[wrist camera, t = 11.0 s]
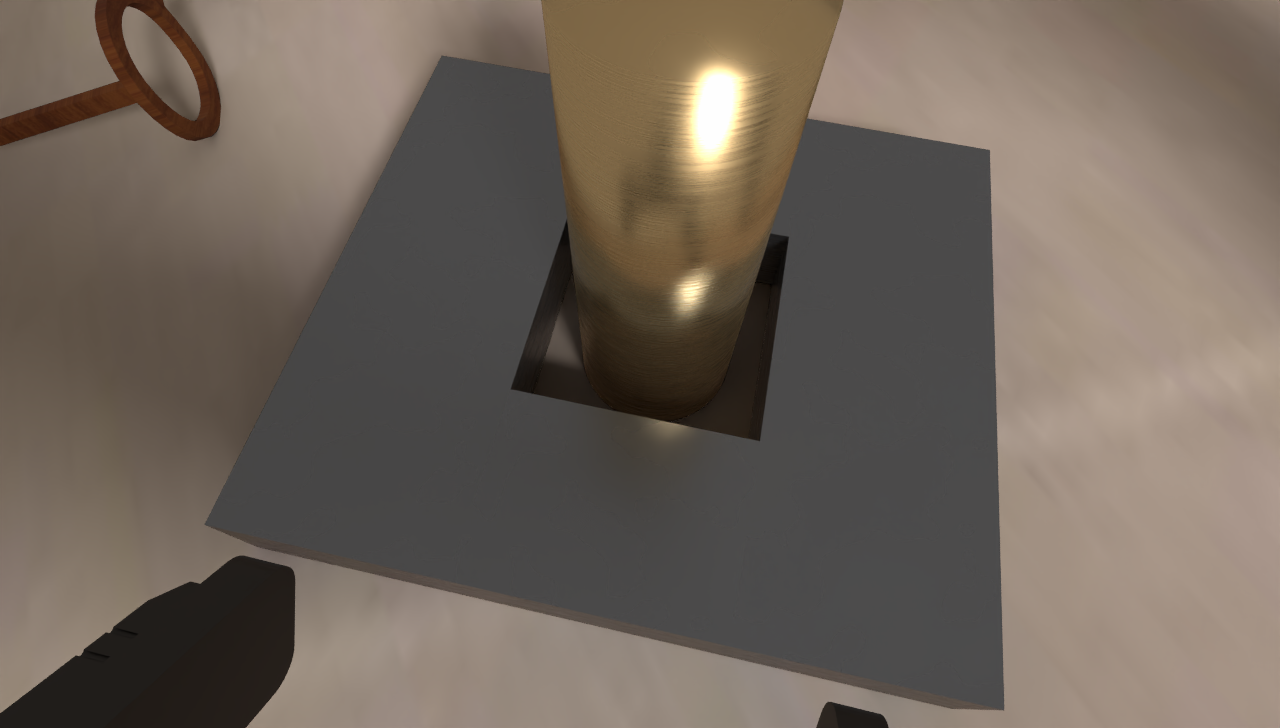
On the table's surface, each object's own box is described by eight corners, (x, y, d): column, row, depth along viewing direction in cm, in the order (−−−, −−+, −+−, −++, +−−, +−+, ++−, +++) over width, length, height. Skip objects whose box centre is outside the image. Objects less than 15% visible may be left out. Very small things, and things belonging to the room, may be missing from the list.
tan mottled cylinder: (737, 307, 21) (855, -93, 11) (715, 436, 19) (831, 106, 9) (602, 281, 22) (581, -133, 11) (567, 404, 20) (499, 49, 9)
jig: (954, 202, 23) (989, 150, 21) (951, 708, 16) (1004, 710, 14) (458, 113, 25) (441, 55, 22) (257, 546, 18) (205, 524, 15)
